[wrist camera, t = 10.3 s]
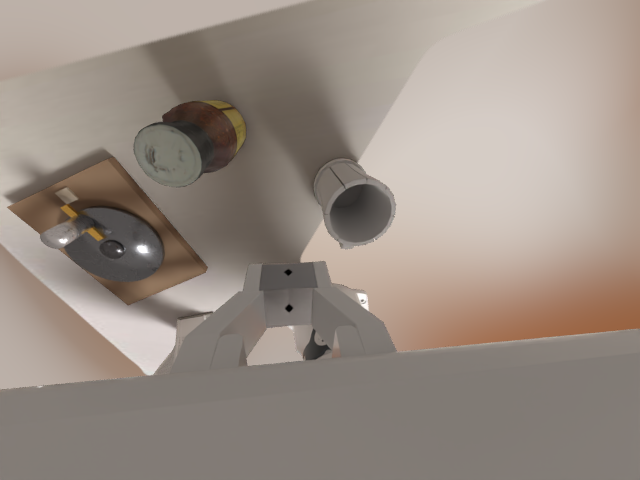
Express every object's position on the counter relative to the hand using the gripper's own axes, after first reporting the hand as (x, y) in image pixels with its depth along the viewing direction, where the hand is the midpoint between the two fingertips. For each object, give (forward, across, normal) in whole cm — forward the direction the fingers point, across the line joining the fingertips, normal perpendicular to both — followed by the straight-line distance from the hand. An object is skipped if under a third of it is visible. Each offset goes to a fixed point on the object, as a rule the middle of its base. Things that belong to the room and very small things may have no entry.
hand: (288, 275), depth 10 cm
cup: (+29, -9, +6) cm, 31 cm away
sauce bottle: (+29, +8, -3) cm, 30 cm away
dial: (+27, +26, +14) cm, 40 cm away
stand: (+29, +26, +14) cm, 41 cm away
